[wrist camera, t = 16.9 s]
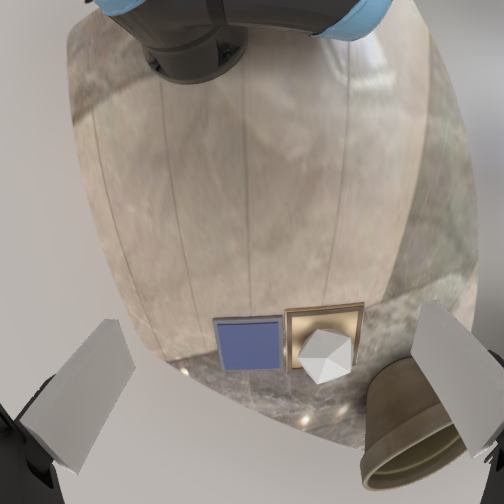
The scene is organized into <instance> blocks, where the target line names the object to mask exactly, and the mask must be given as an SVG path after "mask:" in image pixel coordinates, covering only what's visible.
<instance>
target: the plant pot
mask: <svg viewBox="0 0 504 504" xmlns="http://www.w3.org/2000/svg"><path fill="white" fill-rule="evenodd" d="M467 450H468V449H467V448H466V446H465V444H464V442H463V440H462V438H461V436H460V434H459V432H458V431H457V429H456V427H455V425H454V423H453V422H452V420H451V418H450V416H449V414H448V413H447V411H446V409H445V408H444V406H443V404H442V402H441V401H440V399H439V397H438V396H437V394H436V392H435V391H434V389H433V388H432V386H431V384H430V383H429V381H428V380H427V378H426V376H425V375H424V373H423V372H422V370H421V369H420V367H419V365H418V364H417V362H416V361H415V359H414V358H405V359H402V360H399V361H396V362H394V363H393V364H391V365H389V366H387V367H386V368H385V369H383V370H382V371H381V372H380V373H379V374H378V375H377V376H376V377H375V378H374V379H373V381H372V382H371V384H370V386H369V388H368V392H367V408H366V434H365V454H364V456H363V457H362V459H361V462H360V469H361V476H362V484H363V486H364V488H366V489H367V490H370V491H385V490H391V489H396V488H400V487H403V486H406V485H409V484H412V483H415V482H417V481H419V480H422V479H424V478H426V477H428V476H430V475H431V474H433V473H435V472H437V471H439V470H441V469H442V468H444V467H445V466H447V465H449V464H450V463H451V462H453V461H454V460H456V459H457V458H458V457H460V456H461V455H462V454H463V453H464V452H466V451H467Z"/></svg>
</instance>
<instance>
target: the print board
mask: <svg viewBox="0 0 504 504" xmlns="http://www.w3.org/2000/svg"><path fill="white" fill-rule="evenodd" d="M364 307H365V304H364V302H362V303H354V304H344V305H334V306H323V307H312V308H299V309H285V329H286V372H288V373H290V372H303V371H305V370H304V368H303V366H302V365H301V363H300V362H299V360H298V359H297V357H298V355H299V352H300V350H301V348H302V346H303V344H304V342H305V340H306V339H307V338H308V337H309V336H310V335H311V334H313V333H314V332H315V331H316V330H317V329H336V330H338V331H340V332H342V333H343V334H345V335H347V336H349V337H350V338H351V342H352V346H353V351H354V356H353V362H352V366H353V365H356V362H357V356H358V350H359V344H360V337H361V330H362V323H363V315H364Z"/></svg>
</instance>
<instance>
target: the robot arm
mask: <svg viewBox="0 0 504 504" xmlns="http://www.w3.org/2000/svg"><path fill="white" fill-rule="evenodd" d="M93 1H94V2H95V3H96V4H97V5H98V6H99V7H100V8H101V11H102V12H103V13H104V14H105V15H107V16H109V17H110V18H111V19H113V20H114V21H115V22H117V23H118V24H119V25H120V26H122V27H123V28H124V29H125V30H127V31H128V32H129V33H130V34H131V35H133V36H134V37H135V38H136V39H137V40H139V41H140V42H141V43H142V46H143V51H144V55H145V59H146V61H147V63H148V65H149V66H150V67H151V69H152V70H153V71H154V72H156V73H157V74H158V75H159V76H161V77H162V78H164V79H166V80H168V81H170V82H173V83H178V84H197V83H202V82H206V81H209V80H212V79H214V78H216V77H218V76H220V75H222V74H224V73H225V72H227V71H228V70H229V69H231V68H232V67H233V66H234V65H235V64H236V63H237V62H238V60H239V59H240V58H241V56H242V55H243V53H244V51H245V48H246V45H247V38H248V37H247V29H246V27H249V28H262V29H272V30H281V31H288V32H295V33H301V34H307V35H309V36H310V37H326V38H332V39H337V40H342V41H355V40H358V39H360V38H363V37H365V36H367V35H368V34H369V33H370V32H372V31H373V30H374V29H375V28H376V27H377V26H378V24H379V23H380V22H381V20H382V19H383V18H384V16H385V14H386V13H387V11H388V9H389V7H390V5H391V3H392V1H393V0H93ZM410 353H411V355H412V356H413V358H414V359H415V361H416V362H417V364H418V365H419V367H420V369H421V370H422V372H423V373H424V375H425V376H426V378H427V380H428V381H429V383H430V384H431V386H432V388H433V389H434V391H435V392H436V394H437V396H438V397H439V399H440V401H441V402H442V404H443V406H444V408H445V409H446V411H447V413H448V414H449V416H450V418H451V420H452V422H453V423H454V425H455V427H456V429H457V431H458V432H459V434H460V436H461V438H462V440H463V442H464V444H465V446H466V448H467V449H468V451H469V453H470V455H471V457H472V459H473V458H474V457H476V456H478V455H479V454H481V453H483V452H484V451H486V450H487V449H488V448H489V447H490V446H491V445H492V444H493V442H494V441H495V440H496V441H497V443H498V445H497V446H496V447H495V448H494V449H493V450H492V452H491V453H490V454H489V455H488V456H487V457H486V458H485V460H484V463H486V462H487V461H488V460H489V459H490V458H491V457H492V456H493V458H492V460H491V461H490V462H489V464H491V467H490V472H489V476H488V479H487V483H486V487H485V490H484V494H483V496H482V499H481V503H480V504H504V361H503V359H502V358H501V357H500V356H499V355H497V354H496V353H494V352H492V351H491V350H486V349H485V348H484V346H482V344H481V343H480V342H479V341H478V340H477V339H476V338H475V337H474V336H473V335H472V334H471V333H470V332H469V331H468V330H467V329H466V328H465V327H464V326H463V325H462V324H461V323H460V322H459V321H458V320H457V319H456V318H455V317H454V316H453V315H452V314H450V313H449V312H448V311H447V310H446V309H445V308H444V307H443V306H442V305H441V304H440V303H439V302H438V301H437V300H431V301H425V302H422V306H421V311H420V316H419V320H418V325H417V329H416V333H415V337H414V341H413V344H412V348H411V352H410ZM135 368H136V367H135V365H134V362H133V360H132V357H131V354H130V352H129V349H128V347H127V344H126V341H125V338H124V336H123V333H122V330H121V327H120V324H119V321H118V320H110V319H105V320H104V321H103V322H102V323H101V324H100V325H99V326H98V327H97V328H96V329H95V331H94V332H93V333H92V334H91V335H90V336H89V337H88V338H87V340H85V342H84V343H83V344H82V345H81V346H80V347H79V348H78V349H77V350H76V352H75V353H74V354H73V355H72V356H71V357H70V359H69V360H68V361H67V362H66V363H65V364H64V365H63V367H62V368H61V369H60V370H59V371H58V372H57V374H55V375H53V376H52V377H50V378H49V379H48V380H46V381H45V382H44V383H43V385H42V386H41V387H40V390H38V391H37V392H36V393H35V395H34V397H32V398H31V399H30V401H29V402H28V403H27V404H26V406H25V407H24V408H23V410H22V411H21V412H20V413H19V415H18V416H17V417H16V419H15V420H14V421H13V420H12V419H11V418H10V416H9V415H8V413H7V412H6V411H5V409H4V408H3V407H2V405H1V404H0V504H65V503H64V500H63V496H62V493H61V490H60V485H59V481H58V478H57V473H56V470H55V467H54V466H53V464H52V462H53V460H55V461H56V462H57V463H58V464H59V465H60V466H61V467H62V468H64V469H66V470H68V471H70V472H72V473H74V474H76V475H78V473H79V472H80V470H81V468H82V465H83V463H84V462H85V460H86V458H87V456H88V454H89V452H90V450H91V448H92V446H93V444H94V442H95V440H96V438H97V436H98V435H99V433H100V431H101V429H102V427H103V425H104V423H105V422H106V419H107V418H108V416H109V414H110V412H111V410H112V409H113V407H114V405H115V403H116V402H117V399H118V398H119V396H120V394H121V392H122V391H123V389H124V387H125V386H126V384H127V382H128V380H129V379H130V377H131V375H132V373H133V372H134V370H135Z"/></svg>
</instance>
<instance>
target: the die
mask: <svg viewBox="0 0 504 504" xmlns="http://www.w3.org/2000/svg"><path fill="white" fill-rule="evenodd" d="M353 356H354V351H353V346H352V342H351V338H350V337H349V336H347V335H345V334H343V333H342V332H340V331H338V330H336V329H317V330H316V331H315V332H314V333H313V334H311V335H310V336H309V337H308V338H307V339H306V340H305V342H304V344H303V346H302V348H301V350H300V352H299V355H298V357H297V359H298V360H299V362H300V363H301V365H302V366H303V368H304V370H305V371H306V372H307V373H308V374H309V376H310V377H311V378H312V379H313V380H314V381H315V382H316V383H317V384H320V383H324V382H327V381H330V380H334V379H336V378H339V377H341V376H343V375H345V374H348V373H350V372H351V368H352V362H353Z"/></svg>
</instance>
